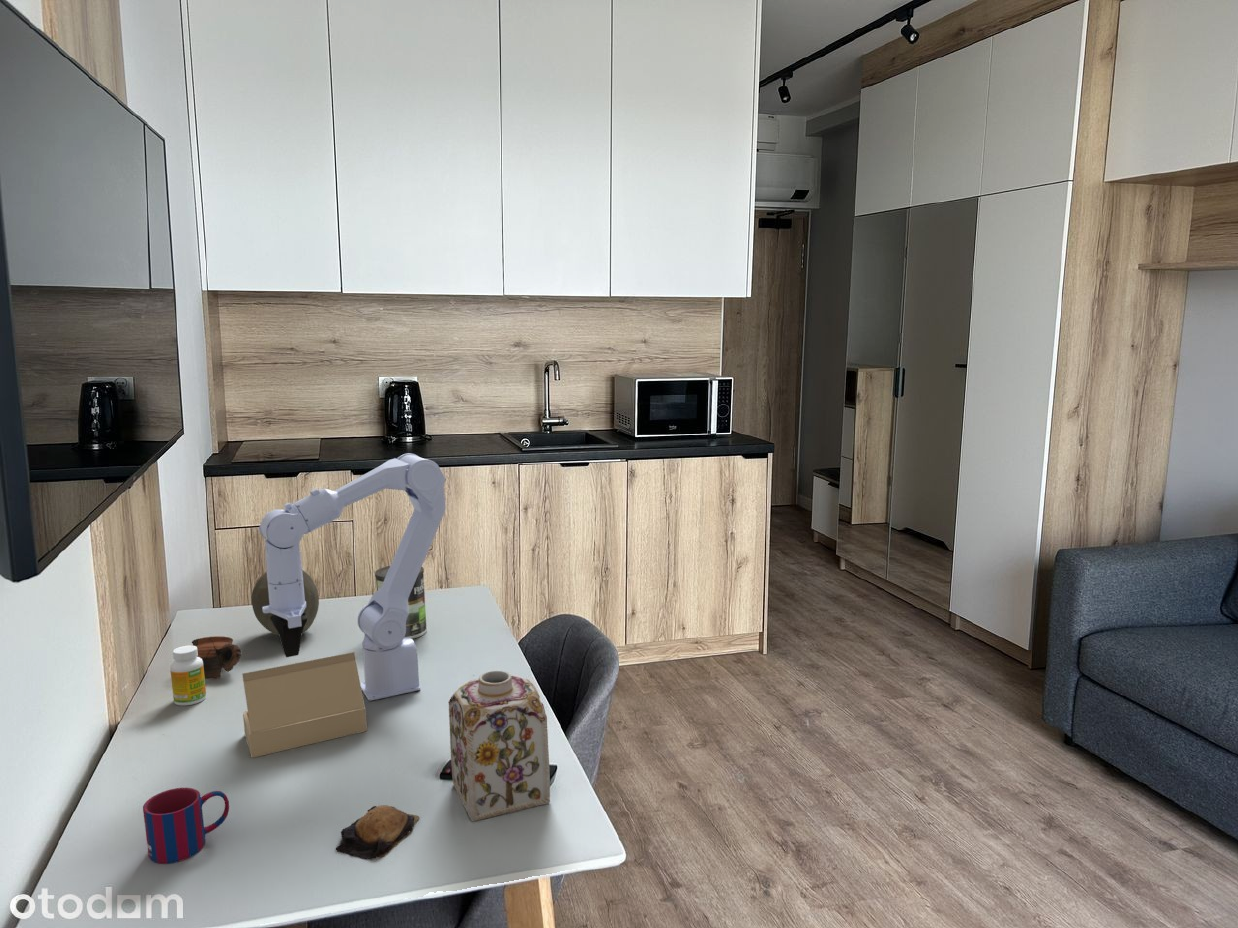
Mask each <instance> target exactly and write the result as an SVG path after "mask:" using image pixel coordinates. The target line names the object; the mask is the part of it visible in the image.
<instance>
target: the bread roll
mask: <svg viewBox="0 0 1238 928" xmlns="http://www.w3.org/2000/svg"><path fill="white" fill-rule="evenodd" d="M419 820H420V816H419V815H416V814H413V813H412V814H410V813H407V812H405V811H402V810H401V809H398V808H396V807H394V806H391V805H385V804H383V805H378V806H377V805H373V806H372V807H371V808H369V809H368V810H367V812H366V813H365V814H364V815H363V816H361V817H360V818H358V819H356V821H354V822H352V823H351V825H349V826H347V827H344V828H343V829H342V830H341V831H340V834H341V841H340V843H339V845H337V846H336V847H335V849H334V850H335V851H336V852H338V853H340V854H346V855H349V856H352V857H356V858H358V859H362V860H374V859H378V858H379V859H380V860H381V859H382V858H384V857H385V856H386V855H388V854H389V853H390V852H391V851H392V850H394V848H396V847H397V846H398V845H399V843H400V842H401V841H402V840H403V839H404V838H405V837H407V836H408V835H409V834H410V832H412V831H413V828H414V827H415V826H416V824H417V822H418V821H419Z"/></svg>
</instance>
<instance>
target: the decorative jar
mask: <svg viewBox="0 0 1238 928" xmlns="http://www.w3.org/2000/svg"><path fill="white" fill-rule="evenodd" d="M448 720H449V744H450V746H449V748H450V762H451V776H452V784H453V786H454V788H455V790H456V793H457V794H458V797H459V799H460V800H461V803H462V804H463V806H464V809H465V810H466V812H467V814H468V817H469V818H470V820H471V821H472V822H478V821H481V820H486V819H488V818H493V817H496V816H501V815H504V814H510V813H514V812H518V811H522V810H526V809H530V808H534V807H538V806H542V805H549V803H550V802H551V789H550V788H551V784H550V783H551V781H550V779H551V778H550V776H551V775H550V754H549V734H548V732H549V731H548V717H547V713H546V709H545V706H544V704H543V702H542V701H541V696H540V694H539V692H538V690H537V688H536V687H535V685H534V684H533V682H531V680H529V679H528V678H524V677H523V678H522V677H518V676H515V675H512V674H511V673H510V672H507V671H503V670H491V671H486V672H484V673H481V674H480V675H479V676H478V678H475V679H471V680H469V681H468V682H466V683H465V684H463V685H461V686H460V687H458V689H457V690H456V691H454V693H453V694H452V695H451V697H450V698H449V700H448Z"/></svg>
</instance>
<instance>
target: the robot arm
mask: <svg viewBox="0 0 1238 928" xmlns="http://www.w3.org/2000/svg"><path fill="white" fill-rule="evenodd" d="M445 482H446V477H445V475H444V473H443V471H442V470H441V468H440V466H439V464H437V463H436V462H435V461H433V460H431V459H427V458H423V457H420V456H419V455H417V454H415V453H409V452H408V453H407V452H406V453H404V454H402V455H399V456H398V457H397V458H396V457H395V458H391V459H388V460H386V461H385V462H383V463H382V464H381V465H379V466H377V467H375V468H373V469H372V470H370V471H368V472H366V473H364V474H362V475H360V476H359V477H357V478H355V479H354V480H352V481H350V482H348V483H347V484H344V485H342V486H341V487H339V488H337V489H335V490H332V489H328V488H322V489H320V490H319V489H318V488H317V487H316V488H314V489H311V490H309V492H310V494H309V495H307V496H305V497H303V498H301V499H299V500H297V501H294V502H293V503H291V502H287V503H284V504H283V505H284V506H283V508H284V509H279V508H276V509H272V510H270V511H268V512H267V513H265V515H264V517H262V519H261V522H260V526H258V529H259V533H260V534H261V536H262V537H263V538H264V539H265V541H264V544H265V545H264V548H265V549H264V551H265V566H266V567H265V569H266V572H267V581H268V592H269V604H270V605H269V606H264V607H262V610H263V613H272V614H275V615H272V616H271V617H270V619H271V621H272V623H273V625H274V626H275V628H276V629H277V632H278V634H279V635H278V637H279V641H280V644H281V647H282V648H281V649H282V651H283V653H284V655H285V657H286V658H290V657H297V656H299V654H300V648H301V642H302V635H303V633H302V632H303V629H304V626H305V624H306V622H307V616H306V615H305V612H304V610H305V608H306V601H305V597H304V584H303V573H302V570H303V564H302V563H303V562H302V552H301V549H300V547H301V546H300V541H302V539H303V536H304V535H308V534H309V533H312V532H313V531H315V530H317V529H319V528H321V527H323V526H325V525H327V524H330V523H331V522H333V521H335V520H336V519H339V518H340V517H341V515H342V512H343V511H344V508H345V507H348V506H350V505H352V504H354V503H356V502H359V501H361V500H363V499H366V498H368V497H370V496H372V495H375V494H376V493H379V492H381V491H383V490H395V491H397V490H398V491H404V492H405V493H406V494H407V496H408V499H409V501H410V502H411V505H412V507H413V512H412V514H411V516H410V519H409V521H408V524H407V526H406V528H405V530H404V533H403V536H402V538H401V540H400V543H399V544H398V547H397V550H396V551H395V554H394V556H393V559H392V561H391V564H390V565H389V566H390V568H389V570H388V572H387V575H386V577H385V579H384V582H383V584H382V586H381V588H380V589H379V590H378V591H377V590H376V591H375V592H374V593H372V595H371V597H370V600H369V601H368V602H367V604H365V606H363V607H362V608H361V609H360V611H359V613H358V615H357V626H358V628H359V630H360V631H361V632H362V633H364V637H363V640H362V643H361V644H362V659H363V671H364V672H363V674H364V681H363V682H360V685H361V691H362V693H363V694H364V695H365V697H366V698H367V700H368V701H370V702H371V701H376V700H380V699H386V698H390V697H395V696H398V695H402V694H408V693H411V692H416V691H417V692H418V691H420V690H421V686H420V675H419V660H418V652H417V646H416V644H415V641H414V639H411V638H407V639H404V637H405V634H406V620H407V617H408V615H409V607H408V598H409V595H410V593H411V591H412V588H413V586H414V583H415V581H416V579H417V576H418V574H419V572H420V569H421V567H423V564H424V562H425V560H426V557H427V555H428V553H429V551H430V548H431V546H432V543H433V541H434V538H435V536H436V533H437V531H438V529H439V527H440V524H441V522H442V519H443V517H444V515H445V511H446V498H445Z"/></svg>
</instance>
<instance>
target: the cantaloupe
mask: <svg viewBox="0 0 1238 928" xmlns="http://www.w3.org/2000/svg"><path fill="white" fill-rule="evenodd" d="M302 573H303V584H304V597H305V601H306V608H305V610H304V612H305V615H306V616H307V622H306V624H305V626H304V629H303V632H302V634H303V633H305V632H307V631H308V630H309V629H310V628H311V627H312V625H313V623H314V622H315V619H316V617H317V615H318V612H319V607H320V606H319V605H320V597H319V591H318V588H317V585H316V583H315V582H314V581H313V578H312V577H311V576H310V575H309V573H308V572H306V571H305V570H303V569H302ZM251 605H252V611H253V614H254V615H255V617H256V619H257V621H258V623H260V624H261V625H262V627H263V628H265V629H266V630H267V631H269V632H270V633H273V634H275V635H277V636H279V634H278V632H277V629H276V628H275V626H274V625H273V623H272V621H271V619H270V617H271V616H272V615H275V614H272V613H263V610H262V607H264V606H269V605H270V604H269V592H268V581H267V571H265V572H264V573H263V574H262V575H260V577H259V578H258V580H257V581H256V583H255V585H254V587H253V589H252V592H251Z"/></svg>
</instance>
